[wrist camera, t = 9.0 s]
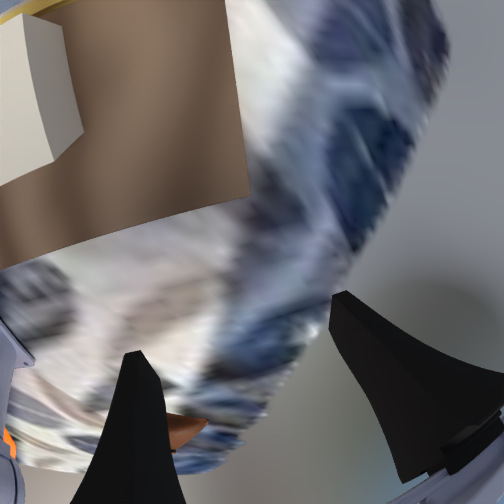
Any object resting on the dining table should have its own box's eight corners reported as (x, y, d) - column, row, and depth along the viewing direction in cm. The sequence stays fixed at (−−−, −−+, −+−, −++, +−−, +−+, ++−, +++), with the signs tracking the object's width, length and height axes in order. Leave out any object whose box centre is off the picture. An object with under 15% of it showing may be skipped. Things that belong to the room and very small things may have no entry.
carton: (21, 158, 12) (-21, 197, 8) (-4, 55, 8) (-57, 60, 4) (84, 132, 12) (54, 161, 9) (61, 22, 9) (21, 7, 5)
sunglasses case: (154, 459, 39) (140, 488, 32) (118, 435, 38) (101, 463, 32) (213, 418, 34) (200, 457, 27) (166, 387, 33) (146, 424, 27)
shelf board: (-3, 267, 15) (-11, 281, 14) (-71, 77, 6) (-85, 81, 5) (247, 191, 18) (255, 203, 17) (215, -44, 9) (221, -54, 8)
